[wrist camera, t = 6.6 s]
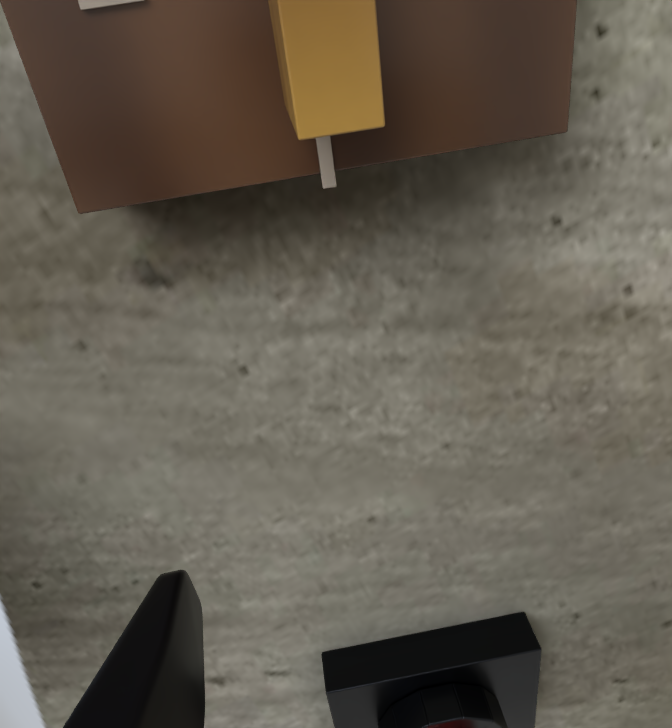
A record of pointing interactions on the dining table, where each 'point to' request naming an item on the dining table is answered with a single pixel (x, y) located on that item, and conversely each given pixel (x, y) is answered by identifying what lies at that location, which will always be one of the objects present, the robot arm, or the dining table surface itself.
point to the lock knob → (329, 65)
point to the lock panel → (275, 90)
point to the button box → (439, 678)
